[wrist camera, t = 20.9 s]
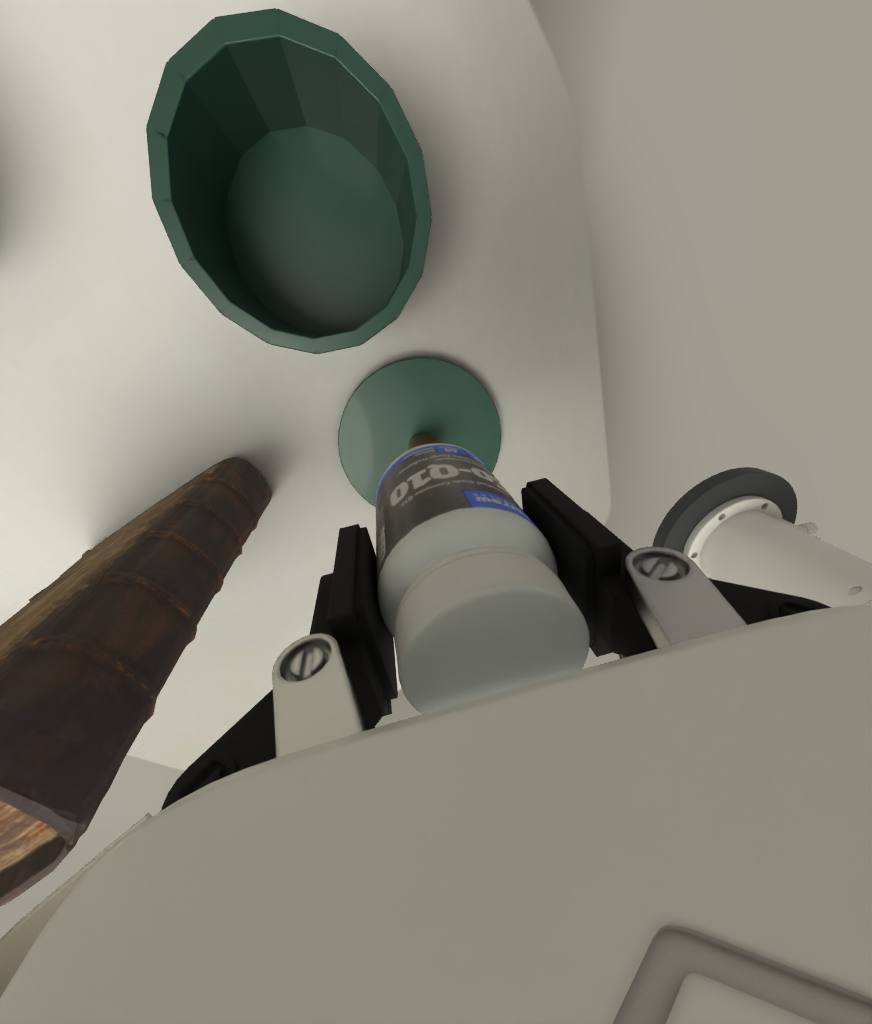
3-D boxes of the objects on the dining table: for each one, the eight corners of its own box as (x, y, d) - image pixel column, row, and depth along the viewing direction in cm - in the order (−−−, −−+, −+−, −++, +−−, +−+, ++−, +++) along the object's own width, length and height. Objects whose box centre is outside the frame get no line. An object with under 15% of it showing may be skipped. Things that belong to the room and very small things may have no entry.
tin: (389, 97, 22) (398, -12, 15) (428, 327, 28) (448, 327, 21) (177, 132, 21) (82, 35, 14) (262, 361, 27) (225, 373, 20)
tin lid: (488, 341, 29) (515, 344, 24) (503, 495, 35) (527, 525, 30) (316, 377, 28) (304, 388, 23) (364, 528, 35) (363, 564, 29)
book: (243, 446, 30) (-126, 788, 8) (299, 513, 33) (156, 888, 11) (80, 546, 31) (-631, 1078, 9) (149, 600, 34) (-247, 1088, 12)
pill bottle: (491, 433, 14) (630, 551, 7) (491, 539, 16) (596, 719, 9) (365, 447, 13) (361, 593, 6) (382, 555, 16) (395, 761, 8)
